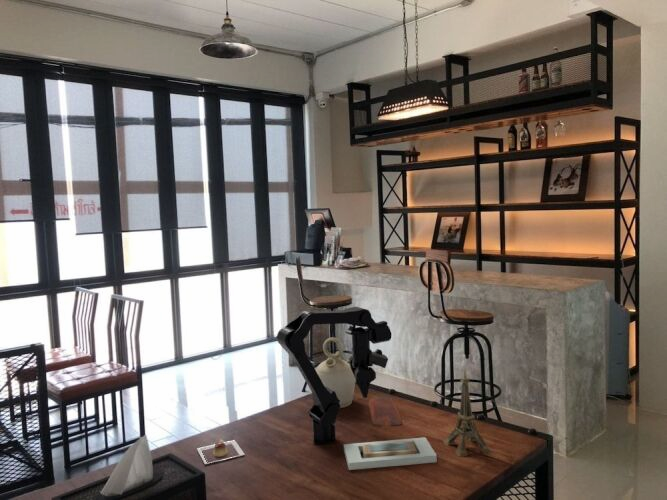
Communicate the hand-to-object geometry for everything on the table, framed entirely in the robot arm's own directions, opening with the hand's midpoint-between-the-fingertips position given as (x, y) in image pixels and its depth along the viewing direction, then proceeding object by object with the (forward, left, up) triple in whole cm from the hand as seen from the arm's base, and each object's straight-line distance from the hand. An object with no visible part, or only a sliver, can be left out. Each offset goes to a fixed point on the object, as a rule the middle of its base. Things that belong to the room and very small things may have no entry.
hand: (362, 392), depth 177 cm
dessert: (-46, -9, -13) cm, 48 cm away
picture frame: (+4, -21, -12) cm, 25 cm away
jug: (-7, +25, -12) cm, 29 cm away
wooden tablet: (+9, +13, -13) cm, 21 cm away
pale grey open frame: (+4, -21, -12) cm, 25 cm away
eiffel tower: (+28, -19, -12) cm, 36 cm away
